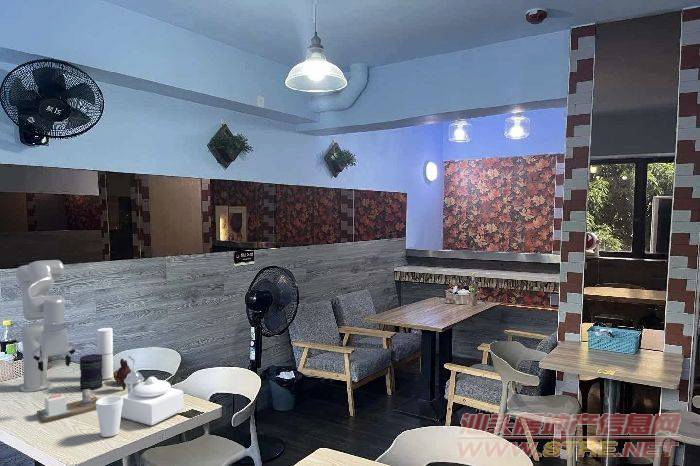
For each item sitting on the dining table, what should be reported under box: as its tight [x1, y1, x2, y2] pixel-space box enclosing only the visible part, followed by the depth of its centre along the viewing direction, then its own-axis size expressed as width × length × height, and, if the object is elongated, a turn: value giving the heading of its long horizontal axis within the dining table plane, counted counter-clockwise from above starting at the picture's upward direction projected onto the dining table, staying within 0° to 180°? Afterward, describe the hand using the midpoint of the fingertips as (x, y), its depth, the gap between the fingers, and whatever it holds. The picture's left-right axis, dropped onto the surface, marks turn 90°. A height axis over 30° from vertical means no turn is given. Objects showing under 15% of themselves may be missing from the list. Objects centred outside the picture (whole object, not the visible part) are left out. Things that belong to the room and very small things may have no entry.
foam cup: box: [95, 395, 123, 438], centre depth 188 cm, size 10×9×13 cm
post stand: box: [36, 389, 99, 424], centre depth 209 cm, size 12×23×8 cm, turn 135°
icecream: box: [116, 358, 132, 391], centre depth 233 cm, size 7×7×15 cm
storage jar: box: [79, 353, 104, 391], centre depth 237 cm, size 10×10×15 cm
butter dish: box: [120, 376, 185, 426], centre depth 207 cm, size 18×18×16 cm
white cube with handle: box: [44, 393, 67, 416], centre depth 204 cm, size 6×6×7 cm
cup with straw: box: [124, 355, 145, 394], centre depth 219 cm, size 8×9×20 cm
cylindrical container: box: [96, 327, 114, 380], centre depth 252 cm, size 7×7×25 cm
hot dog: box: [113, 369, 122, 386], centre depth 244 cm, size 5×13×5 cm, turn 43°
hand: (54, 368), depth 204 cm, fingers open, 9 cm apart
